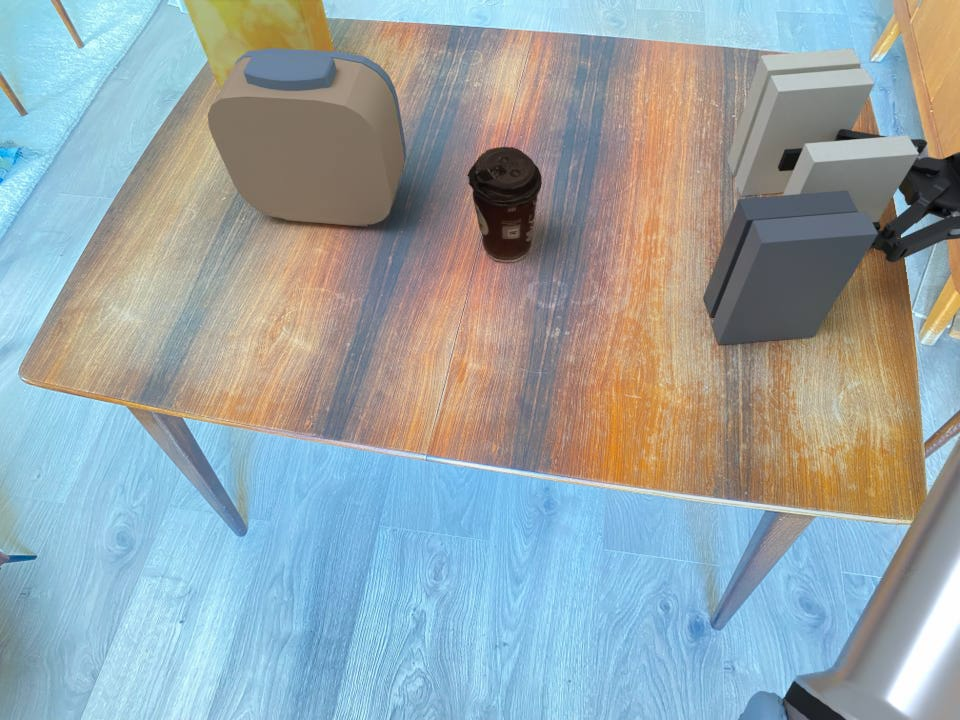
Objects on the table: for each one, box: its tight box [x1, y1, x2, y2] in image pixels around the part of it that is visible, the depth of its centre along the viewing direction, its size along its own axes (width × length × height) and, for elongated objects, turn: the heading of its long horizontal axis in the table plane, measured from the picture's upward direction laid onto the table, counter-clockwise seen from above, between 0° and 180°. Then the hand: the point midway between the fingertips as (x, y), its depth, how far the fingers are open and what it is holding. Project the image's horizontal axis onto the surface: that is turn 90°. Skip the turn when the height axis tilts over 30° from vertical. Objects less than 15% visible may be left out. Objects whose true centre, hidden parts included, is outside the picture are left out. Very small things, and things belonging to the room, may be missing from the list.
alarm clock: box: [207, 48, 407, 228], centre depth 85 cm, size 21×10×22 cm, turn 81°
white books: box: [726, 47, 875, 197], centre depth 87 cm, size 7×11×16 cm, turn 94°
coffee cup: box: [467, 146, 543, 264], centre depth 83 cm, size 9×8×13 cm
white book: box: [782, 135, 919, 222], centre depth 79 cm, size 3×11×16 cm, turn 94°
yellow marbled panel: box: [183, 0, 335, 90], centre depth 101 cm, size 18×12×24 cm
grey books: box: [702, 190, 878, 346], centre depth 73 cm, size 7×11×17 cm, turn 94°
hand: (797, 197), depth 79 cm, fingers open, 12 cm apart
